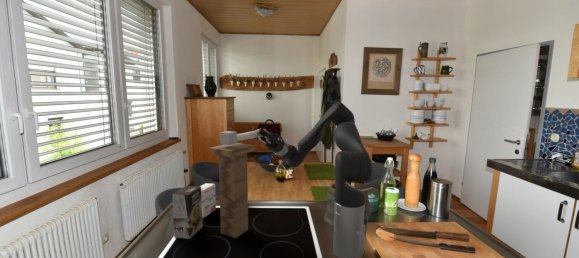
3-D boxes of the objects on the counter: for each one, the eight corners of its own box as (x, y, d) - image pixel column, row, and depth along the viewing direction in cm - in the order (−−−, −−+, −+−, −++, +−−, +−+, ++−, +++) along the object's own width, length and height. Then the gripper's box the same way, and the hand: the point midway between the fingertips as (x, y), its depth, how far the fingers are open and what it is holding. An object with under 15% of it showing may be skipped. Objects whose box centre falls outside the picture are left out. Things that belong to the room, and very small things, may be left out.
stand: (255, 227, 101) (254, 145, 96) (233, 243, 91) (231, 151, 86) (235, 221, 106) (233, 142, 101) (212, 234, 96) (209, 147, 91)
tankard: (322, 225, 103) (323, 188, 101) (327, 211, 115) (328, 178, 113) (376, 233, 98) (378, 194, 96) (376, 218, 110) (378, 183, 107)
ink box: (207, 207, 118) (206, 182, 116) (216, 209, 116) (215, 183, 115) (194, 216, 110) (192, 188, 108) (204, 218, 108) (202, 190, 107)
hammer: (259, 135, 110) (259, 125, 110) (267, 135, 108) (267, 126, 107) (220, 143, 91) (219, 132, 91) (228, 145, 89) (228, 133, 89)
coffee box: (190, 239, 93) (188, 195, 90) (173, 237, 94) (171, 193, 92) (203, 226, 101) (201, 186, 99) (188, 224, 103) (186, 184, 101)
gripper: (266, 136, 123) (245, 120, 109) (292, 138, 116) (273, 122, 102) (262, 151, 121) (239, 137, 107) (288, 155, 114) (268, 140, 100)
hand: (256, 130), depth 105 cm, fingers closed on hammer, 3 cm apart
